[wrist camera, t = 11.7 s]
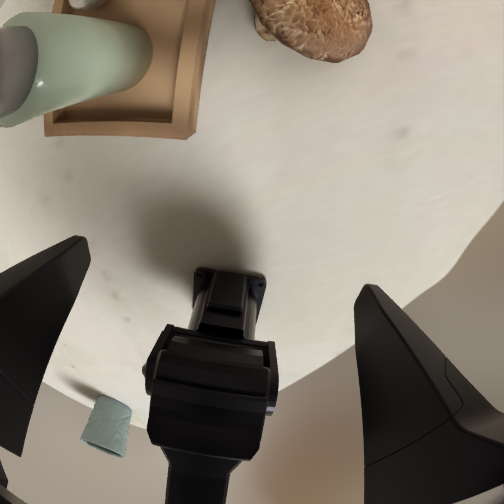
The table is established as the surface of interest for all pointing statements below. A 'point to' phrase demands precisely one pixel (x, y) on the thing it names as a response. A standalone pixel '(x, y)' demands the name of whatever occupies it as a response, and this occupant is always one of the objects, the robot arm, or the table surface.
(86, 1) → the ball
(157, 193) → the table surface
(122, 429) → the grey-green cup
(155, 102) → the tray
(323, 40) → the mushroom
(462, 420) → the robot arm
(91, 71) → the disc
